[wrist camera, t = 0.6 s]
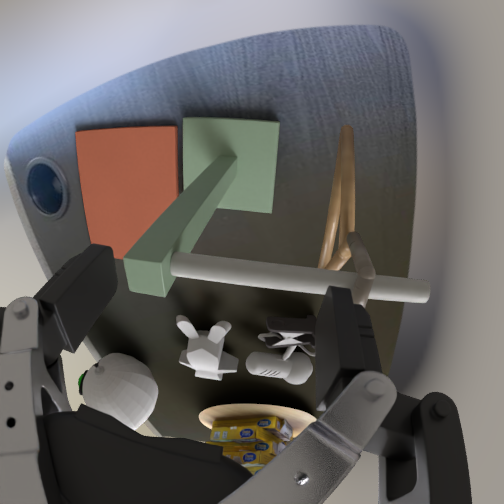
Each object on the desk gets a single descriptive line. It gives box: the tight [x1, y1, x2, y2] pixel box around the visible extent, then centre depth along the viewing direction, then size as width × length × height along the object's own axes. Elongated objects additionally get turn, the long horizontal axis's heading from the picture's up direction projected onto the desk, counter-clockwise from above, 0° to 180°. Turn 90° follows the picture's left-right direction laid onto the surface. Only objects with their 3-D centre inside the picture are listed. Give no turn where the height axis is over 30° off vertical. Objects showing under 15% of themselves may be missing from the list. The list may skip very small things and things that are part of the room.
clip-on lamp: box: [246, 315, 317, 384], centre depth 42 cm, size 12×6×18 cm
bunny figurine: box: [176, 315, 239, 380], centre depth 45 cm, size 10×5×15 cm
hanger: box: [318, 125, 375, 308], centre depth 18 cm, size 14×1×11 cm, turn 177°
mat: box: [75, 126, 179, 259], centre depth 35 cm, size 18×14×1 cm
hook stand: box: [123, 117, 430, 303], centre depth 22 cm, size 10×19×22 cm, turn 87°
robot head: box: [78, 353, 158, 430], centre depth 45 cm, size 16×14×20 cm
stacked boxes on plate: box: [199, 404, 316, 475], centre depth 51 cm, size 25×25×17 cm
